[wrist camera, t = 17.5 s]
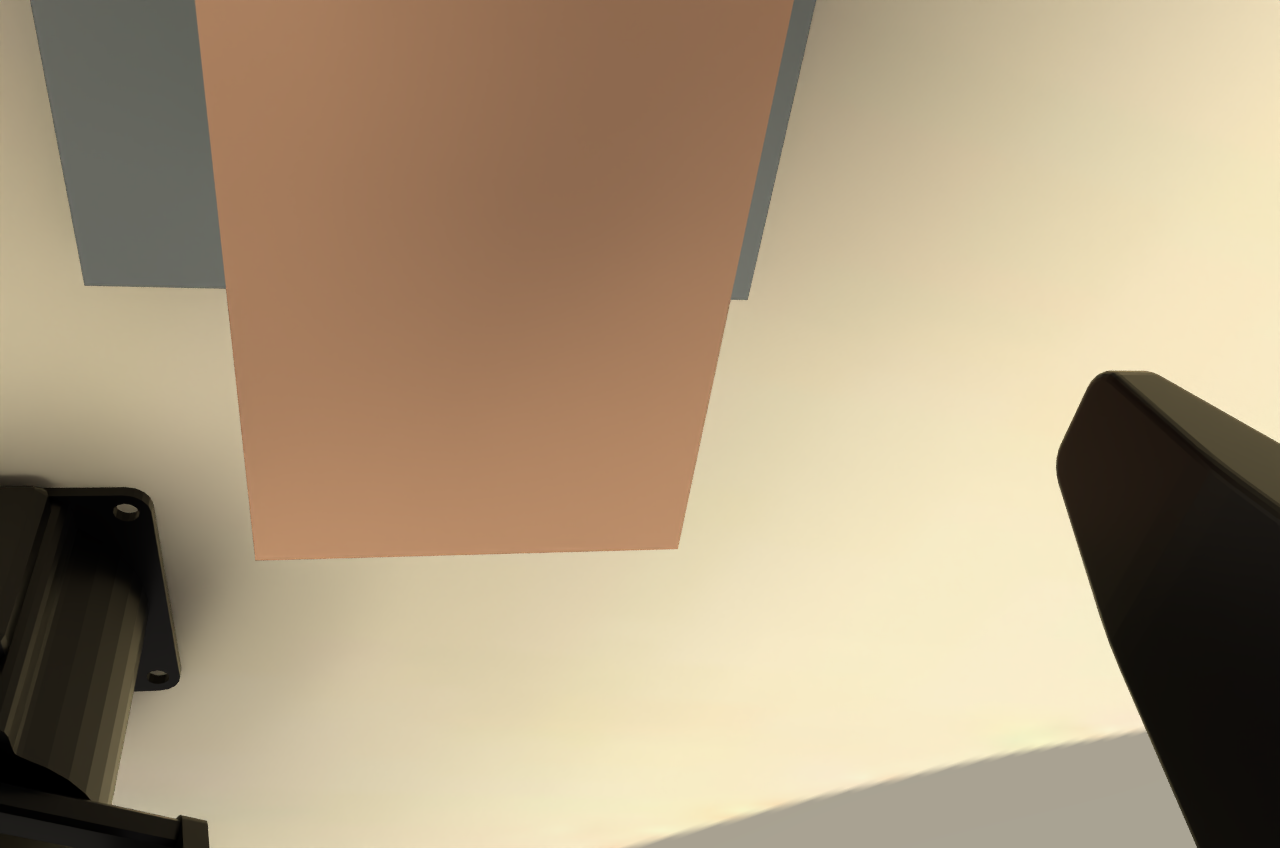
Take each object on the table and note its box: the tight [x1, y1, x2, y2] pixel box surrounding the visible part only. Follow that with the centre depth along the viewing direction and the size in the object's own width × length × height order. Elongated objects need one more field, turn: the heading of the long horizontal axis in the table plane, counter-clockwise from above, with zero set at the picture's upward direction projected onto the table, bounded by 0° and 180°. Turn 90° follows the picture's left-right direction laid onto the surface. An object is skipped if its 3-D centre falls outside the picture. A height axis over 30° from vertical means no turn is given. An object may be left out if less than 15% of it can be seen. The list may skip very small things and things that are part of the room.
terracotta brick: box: [195, 0, 794, 561], centre depth 12 cm, size 10×5×4 cm, turn 173°
